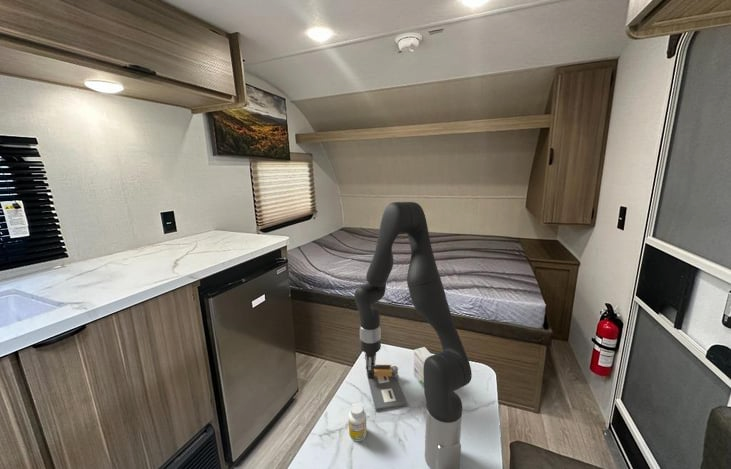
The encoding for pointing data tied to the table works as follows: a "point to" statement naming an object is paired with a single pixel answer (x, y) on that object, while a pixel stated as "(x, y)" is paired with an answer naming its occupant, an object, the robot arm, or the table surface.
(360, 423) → the supplement bottle
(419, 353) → the ink box
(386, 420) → the table surface
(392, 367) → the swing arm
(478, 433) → the table surface
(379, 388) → the tray
